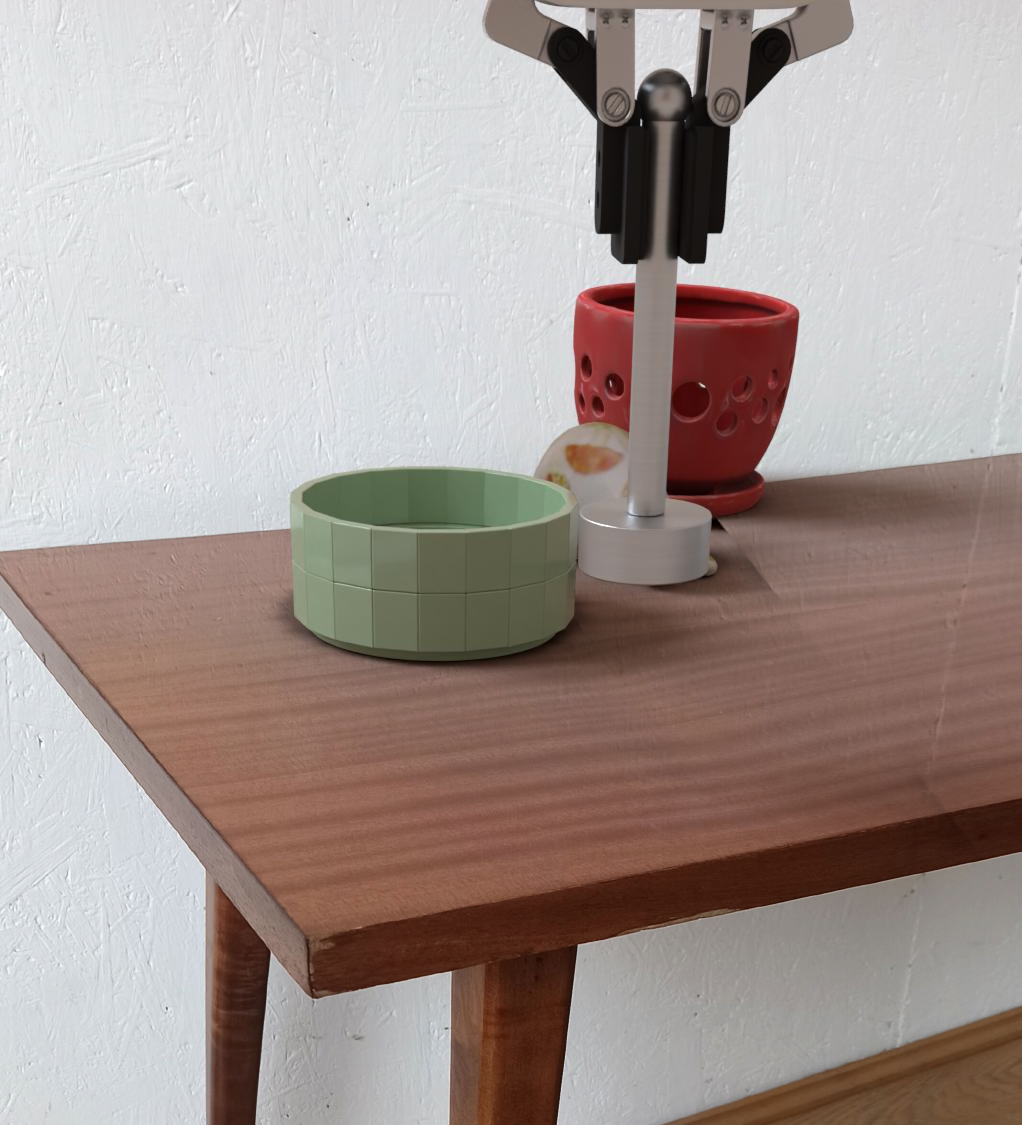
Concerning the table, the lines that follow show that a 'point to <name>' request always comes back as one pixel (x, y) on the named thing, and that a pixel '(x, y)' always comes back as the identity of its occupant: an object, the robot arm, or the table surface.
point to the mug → (591, 465)
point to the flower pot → (696, 383)
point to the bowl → (433, 561)
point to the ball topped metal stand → (652, 383)
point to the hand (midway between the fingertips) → (657, 255)
